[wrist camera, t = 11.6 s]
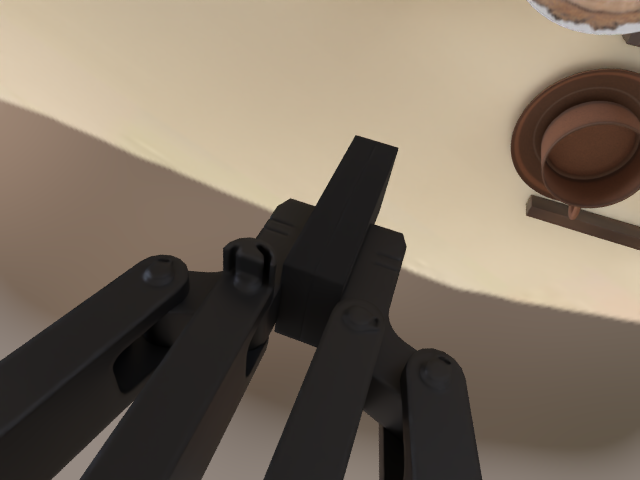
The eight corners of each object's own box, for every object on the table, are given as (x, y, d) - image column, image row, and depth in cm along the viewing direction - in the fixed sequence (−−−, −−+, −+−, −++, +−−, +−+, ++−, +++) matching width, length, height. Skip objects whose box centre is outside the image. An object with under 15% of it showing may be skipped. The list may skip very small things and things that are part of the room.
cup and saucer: (674, 178, 39) (693, 220, 34) (522, 201, 45) (522, 239, 40) (674, 39, 33) (697, 68, 28) (499, 86, 39) (496, 116, 34)
